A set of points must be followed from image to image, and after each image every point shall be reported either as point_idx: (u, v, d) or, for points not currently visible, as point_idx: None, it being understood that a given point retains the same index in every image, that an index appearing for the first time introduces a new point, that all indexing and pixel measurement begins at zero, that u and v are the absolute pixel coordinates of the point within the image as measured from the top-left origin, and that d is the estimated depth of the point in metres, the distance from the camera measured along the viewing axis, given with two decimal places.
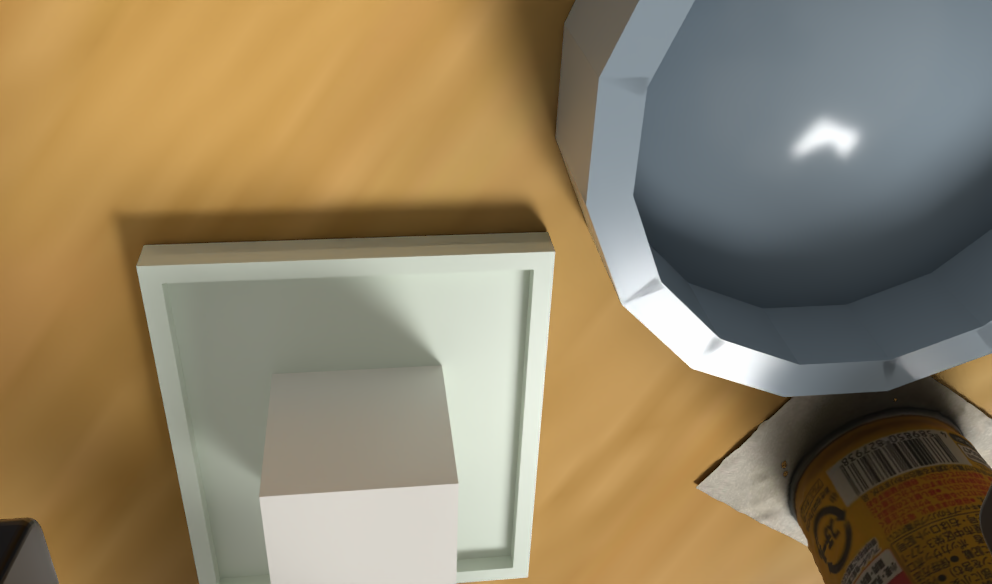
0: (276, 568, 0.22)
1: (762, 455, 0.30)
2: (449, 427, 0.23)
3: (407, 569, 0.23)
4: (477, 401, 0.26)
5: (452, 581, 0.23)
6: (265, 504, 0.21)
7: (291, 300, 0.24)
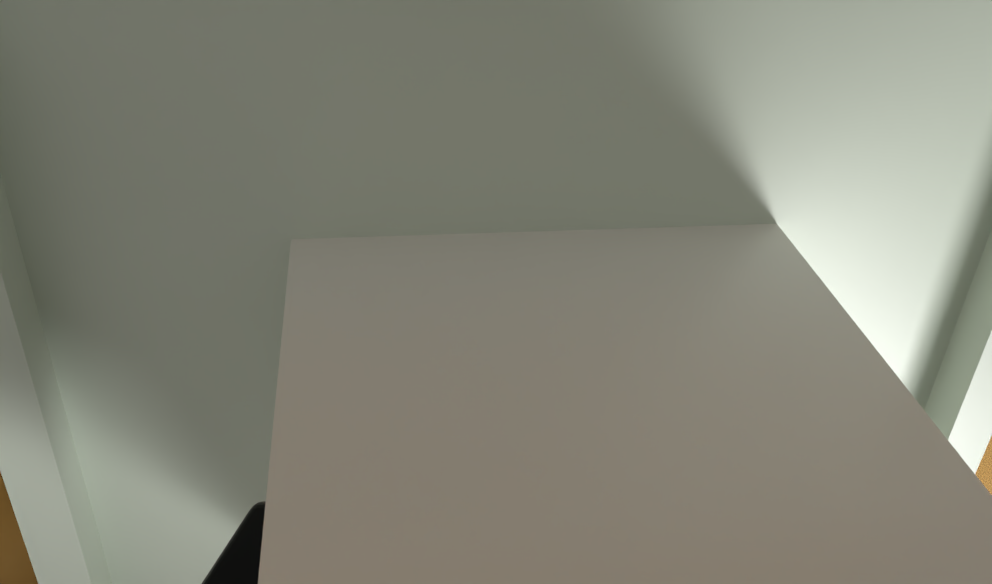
0: None
1: None
2: (907, 394, 0.07)
3: None
4: None
5: None
6: None
7: None
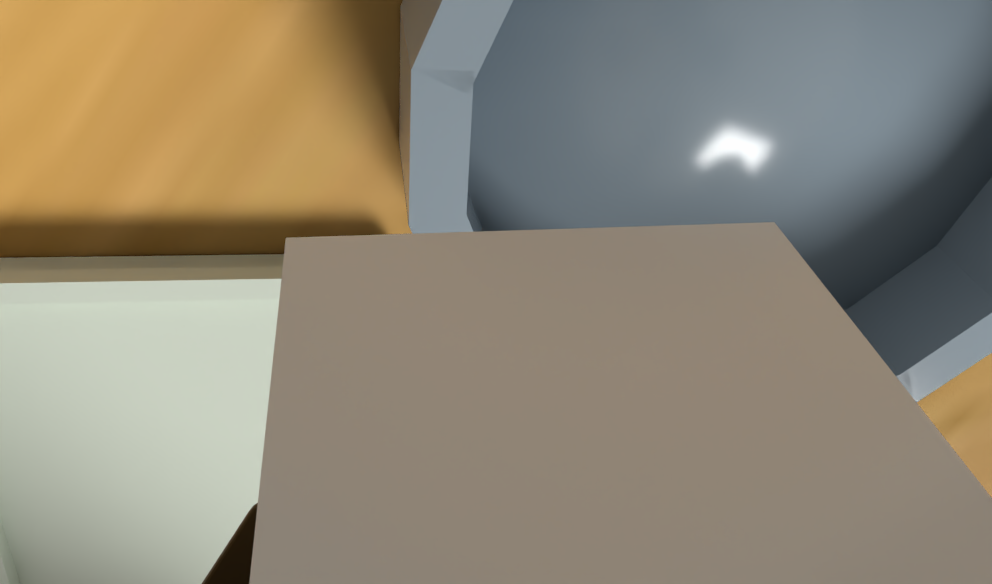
0: None
1: None
2: (905, 393, 0.07)
3: None
4: None
5: None
6: None
7: (89, 327, 0.20)
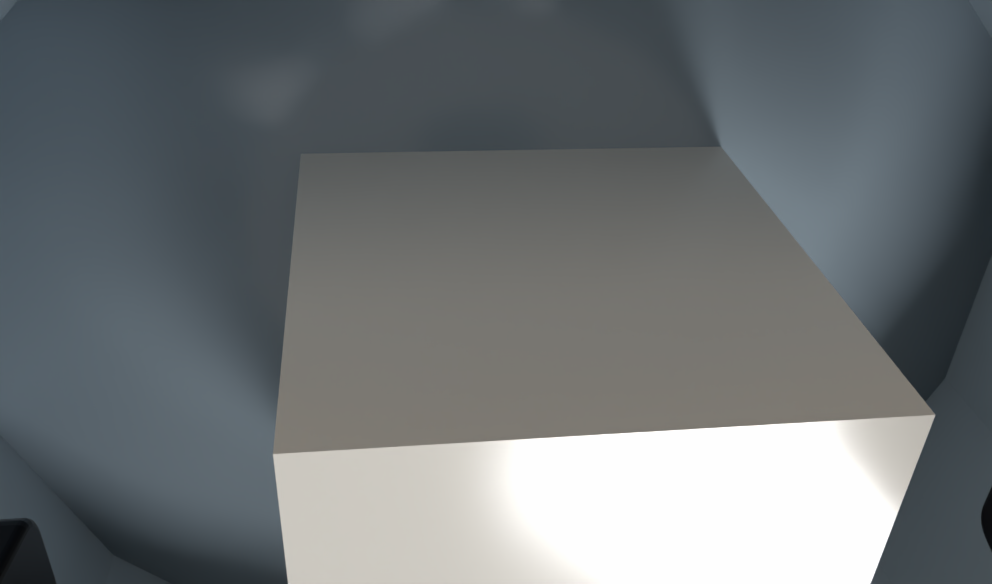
0: None
1: None
2: (814, 268, 0.08)
3: None
4: None
5: None
6: (294, 481, 0.06)
7: None
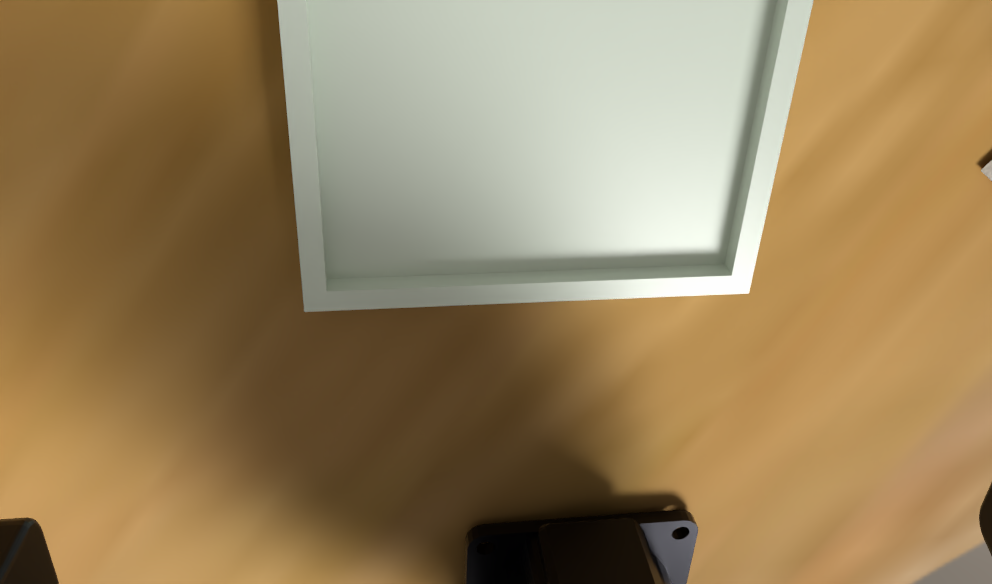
0: None
1: None
2: None
3: None
4: None
5: None
6: None
7: None
